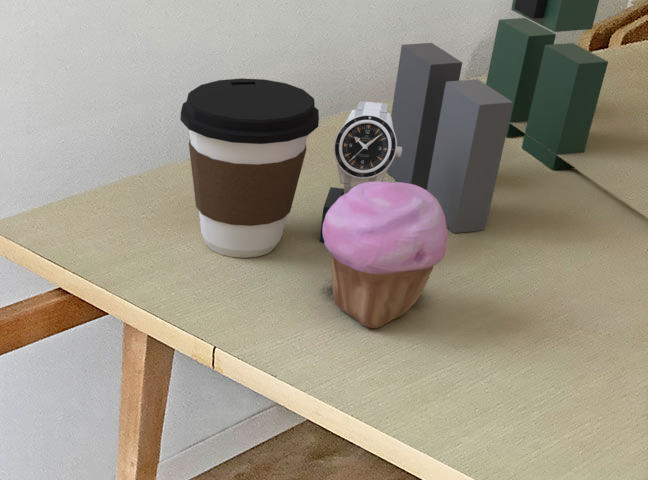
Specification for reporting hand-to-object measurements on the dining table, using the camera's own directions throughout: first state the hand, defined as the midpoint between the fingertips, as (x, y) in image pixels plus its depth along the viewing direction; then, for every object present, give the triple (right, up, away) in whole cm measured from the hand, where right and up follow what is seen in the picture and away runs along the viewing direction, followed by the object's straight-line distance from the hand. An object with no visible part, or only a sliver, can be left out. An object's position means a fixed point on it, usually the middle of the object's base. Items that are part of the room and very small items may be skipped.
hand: (552, 10), depth 77 cm
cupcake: (-12, -21, +4) cm, 25 cm away
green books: (+10, +2, +33) cm, 34 cm away
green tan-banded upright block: (0, 0, 0) cm, 1 cm away
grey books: (-3, -7, +22) cm, 23 cm away
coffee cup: (-21, -13, +14) cm, 29 cm away
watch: (-11, -13, +15) cm, 23 cm away
